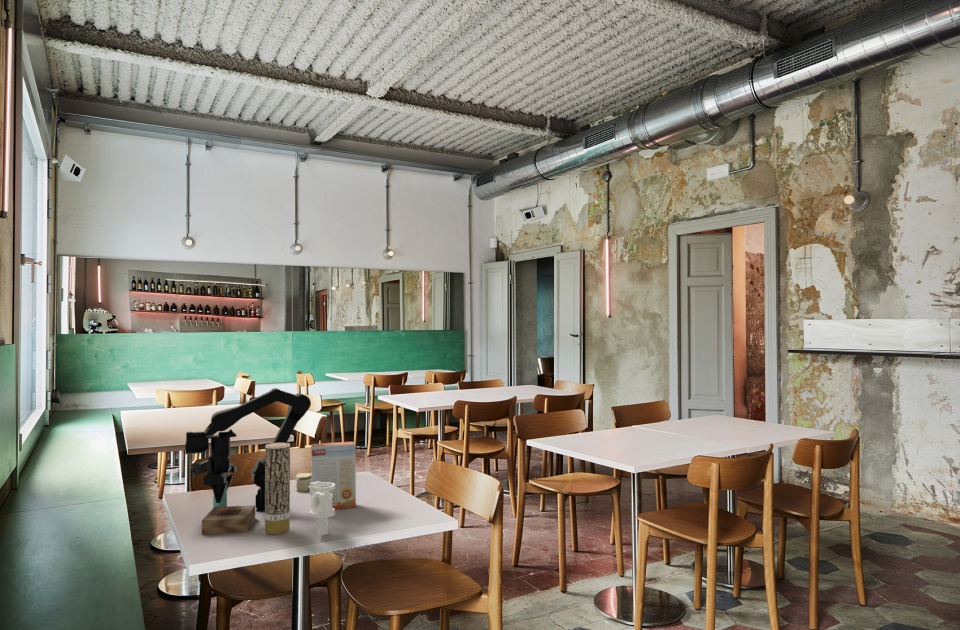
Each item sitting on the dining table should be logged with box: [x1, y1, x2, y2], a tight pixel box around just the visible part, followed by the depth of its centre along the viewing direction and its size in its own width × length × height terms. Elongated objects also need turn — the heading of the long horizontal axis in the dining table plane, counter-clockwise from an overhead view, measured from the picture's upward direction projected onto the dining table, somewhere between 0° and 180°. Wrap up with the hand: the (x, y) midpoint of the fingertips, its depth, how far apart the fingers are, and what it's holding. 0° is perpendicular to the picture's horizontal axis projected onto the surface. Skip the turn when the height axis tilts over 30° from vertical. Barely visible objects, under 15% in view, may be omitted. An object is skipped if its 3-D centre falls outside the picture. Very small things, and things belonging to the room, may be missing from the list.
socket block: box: [201, 504, 256, 535], centre depth 192 cm, size 12×14×4 cm
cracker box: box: [310, 441, 357, 510], centre depth 212 cm, size 14×6×21 cm, turn 108°
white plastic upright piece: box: [309, 481, 336, 536], centre depth 184 cm, size 7×7×15 cm
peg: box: [212, 486, 228, 509], centre depth 205 cm, size 4×4×10 cm
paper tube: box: [264, 442, 291, 536], centre depth 186 cm, size 7×7×25 cm
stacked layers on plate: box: [295, 472, 311, 492], centre depth 237 cm, size 10×9×6 cm
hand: (220, 501), depth 205 cm, fingers closed on peg, 4 cm apart
